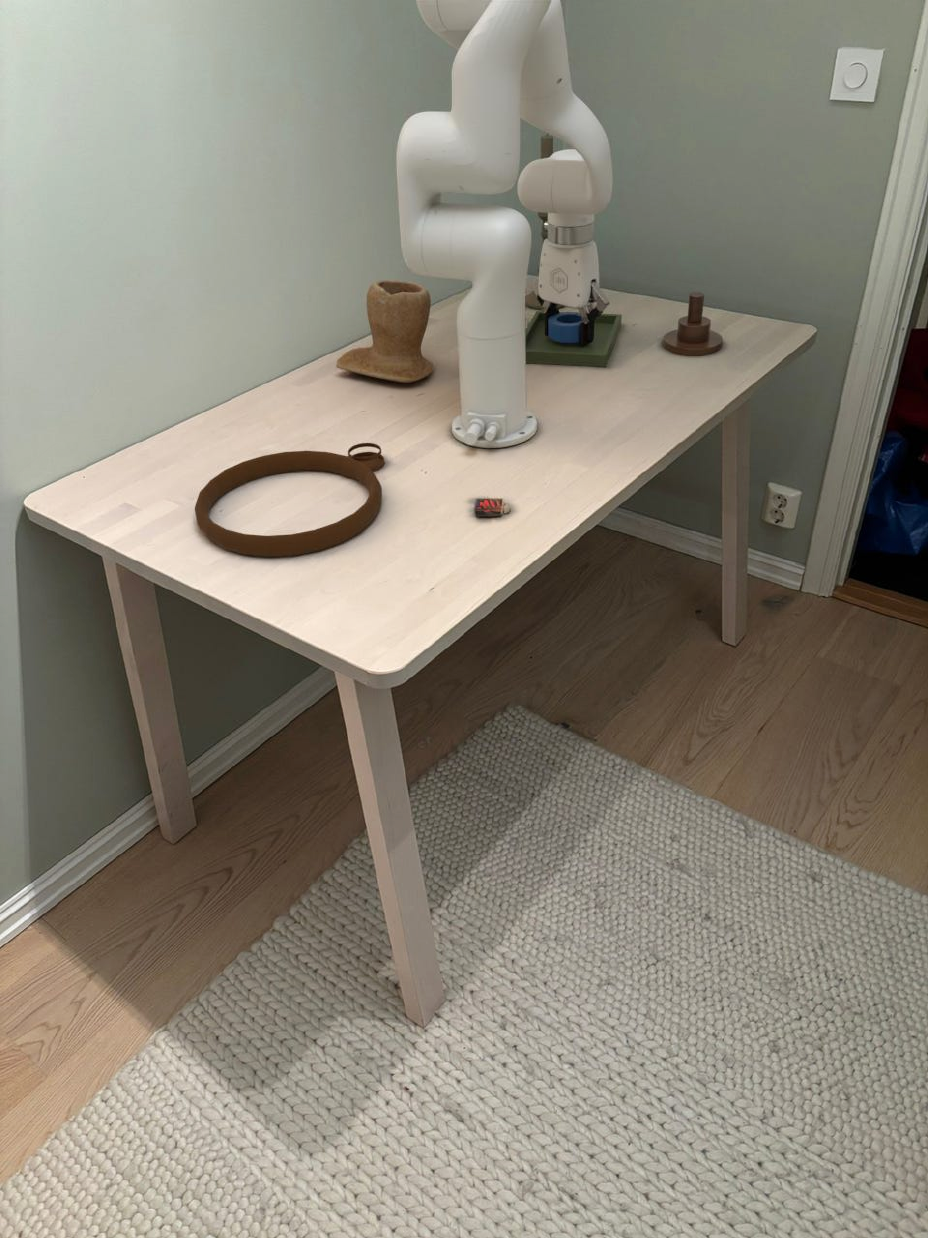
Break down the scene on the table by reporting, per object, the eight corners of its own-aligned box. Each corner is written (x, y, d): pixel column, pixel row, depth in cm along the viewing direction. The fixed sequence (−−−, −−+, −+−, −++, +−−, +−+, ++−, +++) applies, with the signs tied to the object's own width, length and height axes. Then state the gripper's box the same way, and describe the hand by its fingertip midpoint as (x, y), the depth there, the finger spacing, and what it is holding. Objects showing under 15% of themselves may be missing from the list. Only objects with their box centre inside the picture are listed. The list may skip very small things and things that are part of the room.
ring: (585, 343, 171) (586, 326, 170) (545, 341, 173) (545, 324, 171) (592, 329, 177) (592, 312, 175) (552, 327, 178) (553, 310, 177)
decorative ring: (444, 456, 136) (293, 559, 117) (445, 476, 138) (296, 580, 119) (310, 419, 148) (152, 506, 129) (313, 437, 150) (158, 526, 131)
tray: (605, 367, 166) (606, 354, 165) (513, 362, 170) (513, 350, 169) (621, 325, 182) (621, 314, 180) (536, 321, 185) (536, 310, 184)
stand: (720, 357, 167) (726, 305, 162) (660, 354, 170) (663, 303, 165) (723, 335, 175) (729, 285, 170) (665, 333, 178) (669, 283, 172)
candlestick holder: (546, 313, 189) (547, 139, 171) (513, 302, 195) (510, 133, 177) (580, 300, 193) (583, 130, 176) (546, 290, 199) (546, 124, 182)
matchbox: (476, 519, 128) (476, 516, 128) (469, 500, 132) (469, 497, 132) (512, 515, 128) (512, 511, 128) (504, 496, 132) (504, 492, 132)
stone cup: (449, 368, 169) (444, 278, 161) (408, 393, 161) (401, 300, 153) (378, 353, 176) (369, 266, 168) (335, 377, 168) (324, 287, 160)
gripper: (515, 229, 168) (517, 334, 178) (598, 246, 158) (594, 356, 168) (545, 220, 172) (545, 322, 182) (627, 236, 162) (622, 343, 172)
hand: (569, 337), depth 175 cm, fingers closed on ring, 7 cm apart
